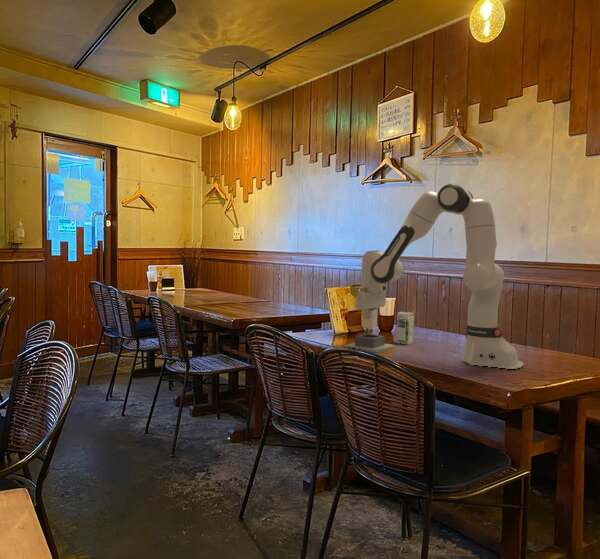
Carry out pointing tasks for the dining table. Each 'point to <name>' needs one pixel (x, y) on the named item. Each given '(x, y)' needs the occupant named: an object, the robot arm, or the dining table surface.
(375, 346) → the socket
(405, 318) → the syrup box
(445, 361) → the dining table surface
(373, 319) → the plug
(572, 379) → the dining table surface
